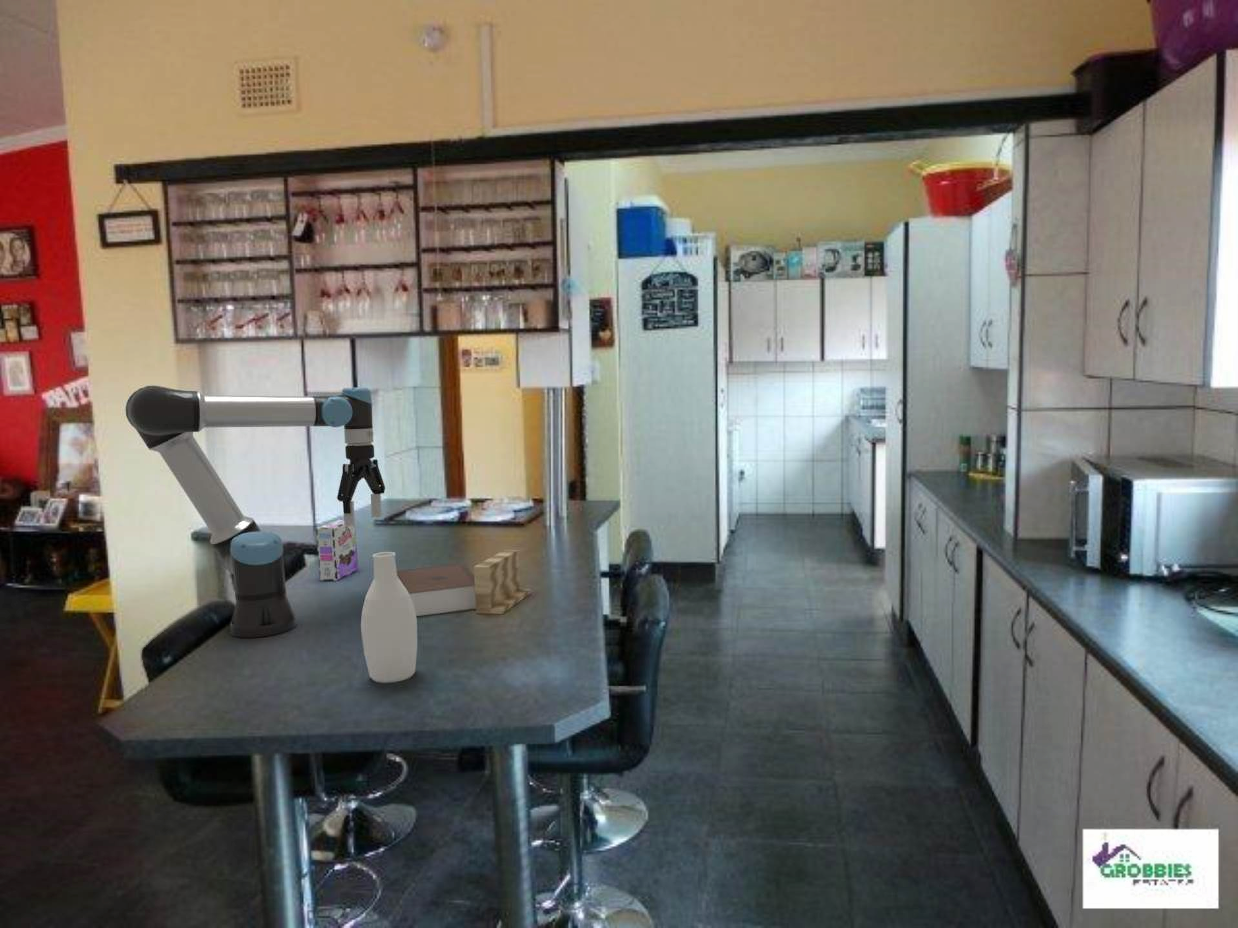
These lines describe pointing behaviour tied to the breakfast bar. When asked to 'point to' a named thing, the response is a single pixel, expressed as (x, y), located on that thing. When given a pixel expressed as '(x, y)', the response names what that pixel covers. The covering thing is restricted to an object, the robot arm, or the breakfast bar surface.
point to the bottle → (388, 624)
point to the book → (439, 588)
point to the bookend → (498, 583)
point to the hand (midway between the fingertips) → (363, 521)
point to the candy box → (336, 551)
